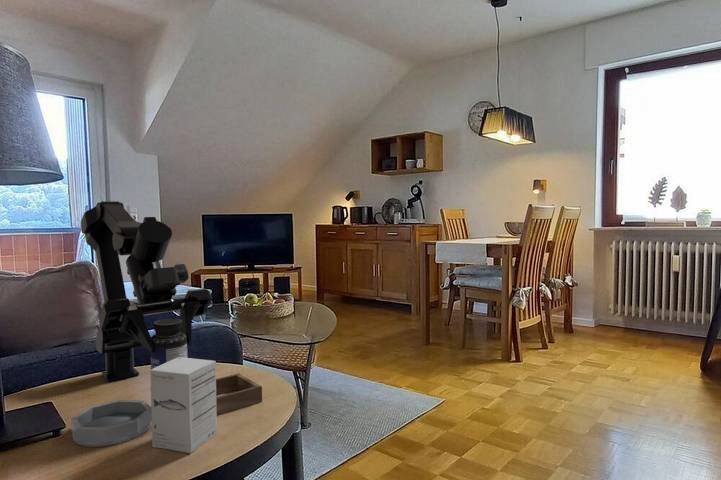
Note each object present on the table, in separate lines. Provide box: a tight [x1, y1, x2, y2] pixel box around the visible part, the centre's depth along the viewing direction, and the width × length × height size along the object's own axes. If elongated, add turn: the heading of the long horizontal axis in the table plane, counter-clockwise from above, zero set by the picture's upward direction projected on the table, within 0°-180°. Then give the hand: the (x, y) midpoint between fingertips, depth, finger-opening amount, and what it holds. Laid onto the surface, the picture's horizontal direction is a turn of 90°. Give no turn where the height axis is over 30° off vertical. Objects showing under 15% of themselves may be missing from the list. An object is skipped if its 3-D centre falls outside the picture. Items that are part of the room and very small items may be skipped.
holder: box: [216, 372, 263, 416], centre depth 93 cm, size 10×10×3 cm
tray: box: [70, 399, 152, 448], centre depth 81 cm, size 12×12×3 cm
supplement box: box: [149, 357, 218, 454], centre depth 77 cm, size 7×7×13 cm
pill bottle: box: [149, 318, 188, 370], centre depth 85 cm, size 6×6×11 cm
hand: (171, 347), depth 84 cm, fingers closed on pill bottle, 6 cm apart
